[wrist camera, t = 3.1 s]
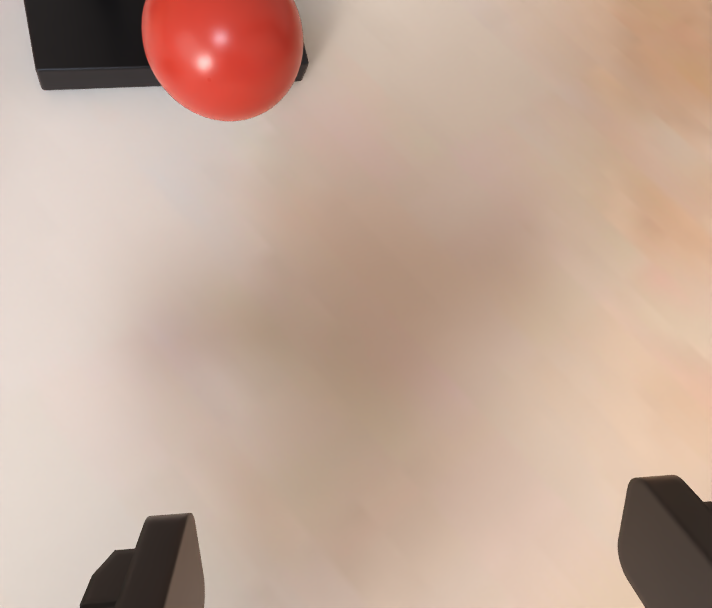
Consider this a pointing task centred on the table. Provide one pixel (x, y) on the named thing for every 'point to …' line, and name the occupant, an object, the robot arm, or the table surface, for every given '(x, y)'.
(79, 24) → the bracket
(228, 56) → the lever
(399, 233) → the table surface
